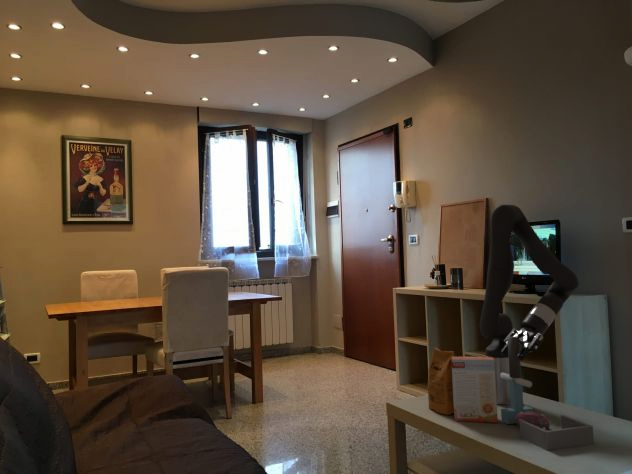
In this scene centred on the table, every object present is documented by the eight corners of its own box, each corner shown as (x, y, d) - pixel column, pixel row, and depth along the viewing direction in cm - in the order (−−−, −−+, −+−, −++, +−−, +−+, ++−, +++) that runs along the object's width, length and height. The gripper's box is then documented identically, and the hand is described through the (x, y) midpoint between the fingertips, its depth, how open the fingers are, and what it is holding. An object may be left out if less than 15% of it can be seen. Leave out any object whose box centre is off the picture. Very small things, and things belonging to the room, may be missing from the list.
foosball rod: (491, 416, 170) (487, 335, 172) (516, 413, 173) (512, 333, 174) (518, 429, 157) (513, 341, 158) (545, 425, 159) (540, 339, 161)
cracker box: (496, 418, 170) (493, 356, 171) (498, 423, 164) (495, 359, 166) (454, 415, 174) (451, 355, 175) (454, 421, 168) (451, 358, 169)
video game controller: (516, 432, 160) (514, 415, 157) (517, 422, 163) (515, 405, 161) (550, 437, 155) (548, 419, 153) (550, 426, 159) (548, 409, 156)
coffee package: (446, 404, 188) (443, 345, 190) (467, 413, 177) (465, 350, 178) (424, 407, 185) (421, 347, 186) (444, 416, 173) (441, 353, 174)
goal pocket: (520, 437, 151) (519, 420, 151) (564, 431, 155) (563, 414, 155) (547, 450, 140) (546, 432, 140) (593, 443, 144) (592, 426, 144)
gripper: (517, 310, 176) (490, 346, 172) (546, 314, 162) (517, 352, 158) (531, 325, 177) (504, 360, 173) (560, 329, 163) (532, 368, 159)
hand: (511, 356), depth 166 cm, fingers open, 8 cm apart
